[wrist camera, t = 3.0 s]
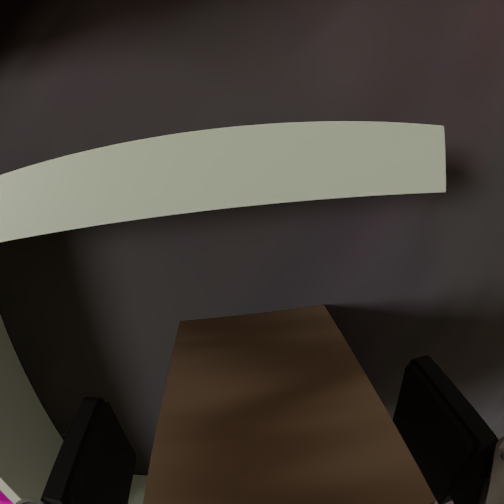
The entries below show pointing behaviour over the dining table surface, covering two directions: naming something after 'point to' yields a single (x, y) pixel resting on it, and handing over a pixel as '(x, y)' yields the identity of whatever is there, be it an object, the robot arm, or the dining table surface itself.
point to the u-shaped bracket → (187, 201)
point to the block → (275, 419)
